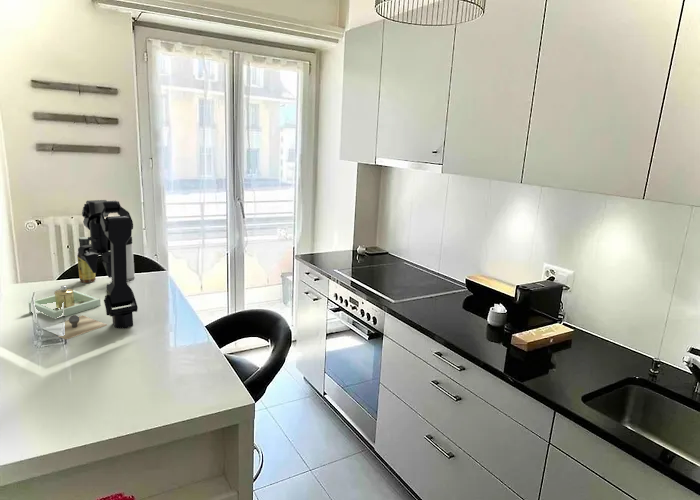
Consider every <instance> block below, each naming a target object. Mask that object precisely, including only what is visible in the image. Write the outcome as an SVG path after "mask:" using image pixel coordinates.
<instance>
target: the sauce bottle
mask: <svg viewBox="0 0 700 500" xmlns="http://www.w3.org/2000/svg"><path fill="white" fill-rule="evenodd" d="M88 237H89V236H80V237H79V238H78V243H79V247H80V246H84V245H89V244H91V241H90V240H88ZM76 259H77V267H78V277H79V282H80V283H82V284H83V283H84V284H86V283H87V284H88V283H93V282H95V281H96V277H97V276H96V273H93V272H92V270H91V269H90V267H89V266H88V264H87V263H86V261H85V260H84V259H83V257H81V254H78V253H77V258H76Z"/></svg>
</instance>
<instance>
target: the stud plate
mask: <svg viewBox="0 0 700 500" xmlns="http://www.w3.org/2000/svg"><path fill="white" fill-rule="evenodd" d="M64 321H65V335H64V336H57V337H59V338H60V339H63V340H65V341H66V340H69V339H71V338H74V337H77V336H80V335H84V334H86V333H89V332H92V331H94V330H98V329H101V328H103V327H106V326H108V324H106V323H104V322H101V321H98V320H95V319H94V318H91V317H89V316H86V315H80V316H79V315H76V314H72V315H70V316H69V318H68V319H67V320H64Z"/></svg>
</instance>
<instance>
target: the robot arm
mask: <svg viewBox="0 0 700 500" xmlns="http://www.w3.org/2000/svg"><path fill="white" fill-rule="evenodd" d="M116 213H117V215H118V216H115V215H114V216H109V215H110V214H116ZM81 215H82V217H83V220H82V221H83V223H82V224H83V225H84V226H85V228H86V229H88V231H89V233H90V236H87V237H88V240H90V244H89V245H84V246H80V245H79V247H78V248H77V252H78V253H77V255H78V254H81V257H83V259H84V260H85V261H86V263H87V264H88V266H89V267H90V269H91V270H92V272H93V273H95V274H97V272H98V257H99V256H101V259H102V260H103V261H102V264H103V267H104V270H105V272H106V276H108V277H107V278H111V282H110V283H107V284H106V295H105V296H104V300H103V303H104V307H105V313H106V314H105V315H106V316H109V317H112V325H113V328H115V329H129V328H131V327H134V314H133V313H134V312H136V313H137V312H138V303H137V301H136V297H135V294H134V291H133V290H132V287H130V285H129V283H128V281H127V262H126V243H127V242H128V240H129V239H130V237H132V232H133V231H132V230H133V229H134V222H133V219H132V216H131V214H130V212H129V211H128V210H127V209H125V208H124V207H122V206H121V204H120V201H118V200H107V199H96V200H86V201H85V203H84V205H83V207H82V211H81ZM124 306H125V307H124Z"/></svg>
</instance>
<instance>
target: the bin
mask: <svg viewBox="0 0 700 500" xmlns="http://www.w3.org/2000/svg"><path fill="white" fill-rule="evenodd" d="M72 290H73V294H74V304H75V305H74V306H71V307H67V308H64V315H65V317H69V316H73V315H76V314H78V313H80V312H84V311H87V310H90V309H95V308H97V307H98V308H99V307H100V306H101V299H100V298H98V297H96V296H91V295H89V294H86V293H83V292H81V291H77V290H74V289H72ZM33 301H35V307H36V309H37V310H38V311H40V312H43V313H44V314H46V315H48V316H51V317H53V318H57V317H59V316H61V315H62V313H63V309H60V310H58V309H54V310H53V309H51V308H48V307H46V306H43V305H41V304H47V303H53V302H56V301H55V294H54V295H50V296H46V297H43V298H39V299H35V300H33ZM81 302H82V303H81ZM27 303H28V309H29V313H30V314H32V313H31V301H28V302H27ZM77 303H78V304H77ZM46 315H45V316H46ZM48 316H47V317H48ZM51 317H50V318H51ZM53 318H52V319H53Z"/></svg>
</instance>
